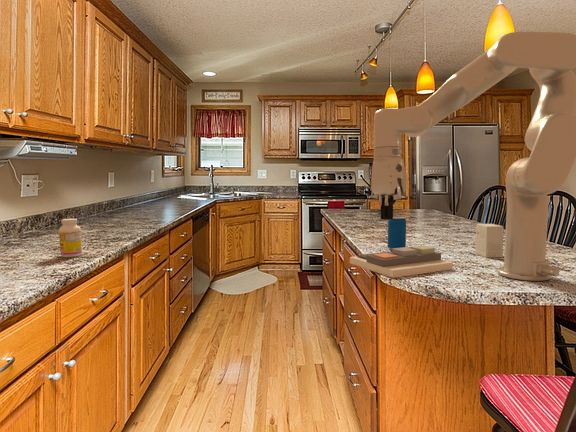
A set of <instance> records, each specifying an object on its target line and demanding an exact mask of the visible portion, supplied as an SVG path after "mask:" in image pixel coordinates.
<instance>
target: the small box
mask: <svg viewBox="0 0 576 432" xmlns="http://www.w3.org/2000/svg"><path fill="white" fill-rule="evenodd" d="M475 226H476V227H475V254H476V255H479V256H482V257H484V258H486V259H487V258H488V259H489V258H490V259H491V258H503V257H504V253H503V251H504V230H505V229H504V228H505V227H504V225H499V224H496V223H495V224H494V223H476V225H475Z"/></svg>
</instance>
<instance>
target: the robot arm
mask: <svg viewBox="0 0 576 432" xmlns="http://www.w3.org/2000/svg"><path fill="white" fill-rule="evenodd" d="M518 68H522V69H528V70H529V74H530V76H531V77H532V79H533V80H534V81H535V82H536V84H537V86H538V87H539V92H540V93H539V98H538V101H537V106H536V107H535V110H534V113H533V115H532V118H531V120H530V122H529V125H528V128H527V129H526V132H525V135H524V144H525V146H526V148H527V149H528V150H529V151H530V154H529V157H528V156H527V157H523V158H520V159H518V160H516V161H514V162H513V163H512V164H511V165H510V166H509V168H508V169H507V171H506V174H505V193H506V217H505V218H506V219H505V233H504V234H505V237H504V239H505V241H504V254H503V257H504V259H503V266H499V267H498V268H497V269H496V270H497V271H496V272H497V274H498V275H500V276H503V277H505V278H509V279H515V280H521V281H528V282H529V281H533V282H535V281H536V282H539V281H540V282H541V281H543V282H544V281H549V280H551V279H552V277H555V278H557V277H559V274H560V268H558V267H553V266H552V267H551V266H550V263H551V261H549V260H546V256H547V253H546V252H547V239H548V238H547V237H548V223H549V222H548V221H549V220H548V219H549V201H548V200H549V198H548V195H550V194H553V193H555V192H557V191H558V190H560V189H561V188H562V186H563V185H564V184H565V183H566V180H567V179H568V177H569V175H570V172H571V170H572V167H573V165H574V163H575V161H576V114H575V112H576V74H575V72H574V70H573V69H575V68H576V34H574V33H570V32H556V31H555V32H552V31H551V32H549V31H548V32H547V31H512V32H509V33H507V34H504V35H503V36H501V37H500V38H498V39H497V41H496V42H494V44H493V45H492V46H490V47H489V48H488V49H487V50H486V51H484V52H483V53H482V54H480V55H479V56H478V57H476V58H475V59H474V60H472V61H470V62H469V63H468V64H467V65H465V66H464V67H462V68H461V69H459V70H458V71H457V72H455V73H454V74H453V75H452V76H450V77H449V78H448V79H447V80H446V81H445V82H444V83H443V84H442V85H441V86H440V87H439V88H438V89H437V90H436V91H435V92H434V93H433V94H431V95H430V96H429V97H428V98H427V99H425V100H424V101H422V102H421V103H420V104H418V105H413V106H408V107H407V106H406V107H404V108H392V107H391V108H381V109H379V110H376V111H375V113H374V115H373V117H374V119H373V160H372V161H373V162H372V167H371V179H370V180H371V182H370V186H371V188H370V189H371V192H372V194H373V198H374V199H377V200H378V205H379V206H380V220H381V221H382V220H384V221H385V220H386V221H388V220H391V219H393V217H394V206H395V205H396V201H398V200H401V199H402V195H404V194H405V193H406V191H407V189H406V188H407V187H406V185H407V183H406V182H407V179H406V177H407V176H406V169H405V162H404V158H402V152H403V151H402V138H403V137H402V135H403V134H405V136H407V137H410V138H418V137H420V136H422V135H423V134H424V133H426V132H427V131H429V130H430V129H432V128H433V127H434V126H436V125H437V124H439V123H440V122H441V121H443V120H444V119H445V118H447V117H449V116H450V115H452V114H453V113H455V112H456V111H458V110H460V109H462V108H463V107H465V106H466V105H468V104H470V103H471V102H472V101H474V100H475V99H477V98H478V97H479V96H481V95H482V94H483V93H485V92H486V91H487V90H489V89H490V88H492V87H494V86H495V85H496V84H497V83H499V82H500V81H502V80H503V79H505V78H507V76H509V75H511V74H512V73H513V72H515V70H517V69H518Z"/></svg>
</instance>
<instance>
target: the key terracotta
mask: <svg viewBox="0 0 576 432" xmlns="http://www.w3.org/2000/svg"><path fill="white" fill-rule="evenodd" d="M373 256H375V257H378V258H382V259H389V258H397V257H398V256H397V255H393V254H389V253H382V254H373Z"/></svg>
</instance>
